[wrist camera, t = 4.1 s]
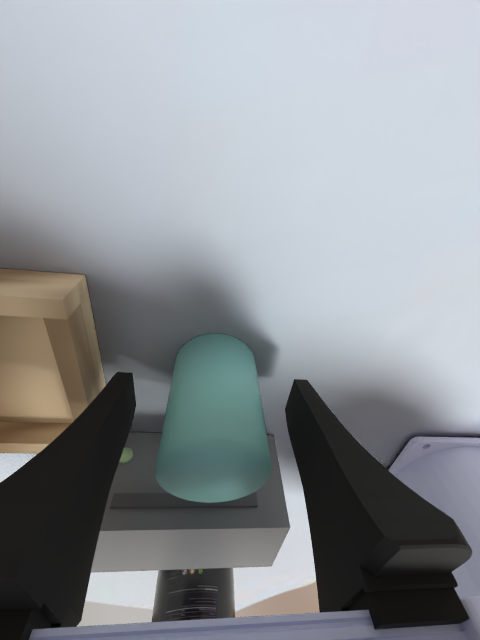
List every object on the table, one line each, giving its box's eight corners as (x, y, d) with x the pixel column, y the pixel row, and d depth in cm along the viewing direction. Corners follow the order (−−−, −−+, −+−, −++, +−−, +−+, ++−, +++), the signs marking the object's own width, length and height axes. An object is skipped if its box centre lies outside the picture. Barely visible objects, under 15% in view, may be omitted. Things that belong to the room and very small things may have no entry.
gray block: (274, 433, 18) (291, 525, 14) (260, 478, 21) (271, 566, 16) (99, 429, 17) (60, 529, 12) (110, 477, 19) (81, 572, 15)
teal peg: (260, 336, 14) (282, 439, 9) (249, 394, 16) (262, 502, 11) (175, 330, 13) (152, 437, 9) (175, 391, 15) (156, 502, 11)
